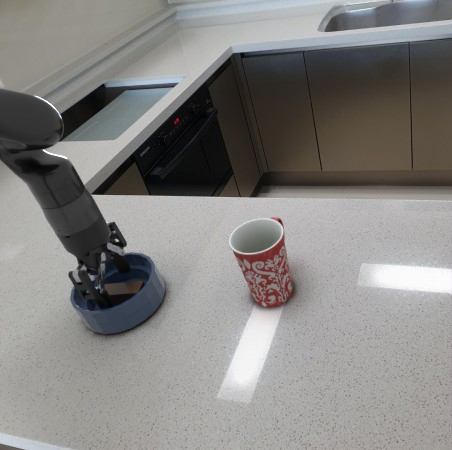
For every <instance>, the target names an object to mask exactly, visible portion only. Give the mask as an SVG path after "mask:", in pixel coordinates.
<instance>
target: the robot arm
mask: <svg viewBox="0 0 452 450" xmlns="http://www.w3.org/2000/svg"><path fill="white" fill-rule="evenodd" d="M64 127H65V126H64V120H63V118H62V116H61V114H60V112H59V111H58V110H57V109H56V107H54V106H53V105H52V104H51V103H49V102H48V101H47V100H45V99H44V98H41V97H39V96H36V95H33V94H30V93H26V92H21V91H16V90H12V89H7V88H3V87H0V162H1V163H2V164H3V165H4V166H6V167H7V169H9V170H10V171H11V172H12V173H13V174H14V175H15V176H16V177H18V179H20V180H21V181H22V182H23V183H24V184H25V185H26V186H27V187H28V189H29V191H30V193H31V194H32V196H33V197H34V199H35V201H36V202H37V204H38V205H39V207H40V209H41V211H42V213H43V216H44V218H45V220H46V221H47V223H48V224H49V226H50V228H51V229H52V231H53V232H54V233H55V235H56V237H57V239H58V240H59V241H60V243H61V244H62V247H63V248H64V250H65V251H66V252H67V253H69V254H71V256H72V255H73V257H75V258H76V261H77V267H76V268H75V269H74V270H70V271H68V274H67V275H68V278H69V280H70V281H71V283H72V285H73V287H75V288H76V290H77V292H78V293H79V295H80V297H81V298H82V300H89V299H95V300H96V302H97V303H98V305H99V306H100V307H101V308H109V307H113V305H114V302H113V300H112V298H111V297H110V295H109V294H108V292H107V290H105V286H104V279H105V278H106V267H107V264H108V262H109V261H110V260H111V258H112V257H113V258H112V261H113V263H114V264H115V266H116V268H117V270H118V271H119V273H121V274H123V273H129V272H130V270H131V268H130V266H129V263H128V262H127V259H126V258H125V256H124V255H125V253H126V251H125V250H124V248H127V246H128V241H127V240H126V238H125V236H124V235H123V234H122V231H121V230H120V228H119V227H118V225H117V223H116V222H115V221H106V219H105V217H104V215H103V213H102V212H101V210H100V208H99V206H98V203H97V202H96V200H95V199H94V197H93V196H92V194H91V193H90V192H89V190H88V189H87V187H86V186H85V184H84V182H83V180H82V179H81V176H80V175H79V172H78V171H77V169H76V167H75V166H74V164H73V162H72V161H71V160H70V159H69V158H67V157H66V156H63V155H59V154H54V153H51V152H48V151H46V150H47V149H50V148H52V147H54V146H55V145H57V144H58V143H59V142H60V140H61V139H62V137H63V135H64V131H65V130H64V129H65V128H64ZM90 271H92V272H97V271H99V275H95V276H92V275H91V274H90ZM94 280H96V281H97V283H98V287H95V286H94V282H93V281H94ZM86 290H88V291H87V292H86Z"/></svg>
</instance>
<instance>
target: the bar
mask: <svg viewBox="0 0 452 450" xmlns="http://www.w3.org/2000/svg"><path fill="white" fill-rule="evenodd" d="M104 286H105V290H107V292H108V294H109V295H110V297H111V298H112V300H113V302H114V305H113V307H115V306H118V305H120V304H122V303H124V302H125V301H127V300H129V299H131V298H132V297H133V296H134V295H136V294H137V293H138V292H139V291H140V290H142V288H143V287H144V286H145V283H144V281H136V282H124V283H112V284H104ZM94 300H95V299H94ZM95 302H96V300H95ZM96 303H97V302H96ZM97 305H98V303H97ZM98 306H99V305H98ZM99 308H100V309H103V308H101V307H100V306H99ZM109 308H112V307H109Z"/></svg>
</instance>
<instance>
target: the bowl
mask: <svg viewBox="0 0 452 450" xmlns="http://www.w3.org/2000/svg"><path fill="white" fill-rule="evenodd" d="M124 256H125V258H126V259H127V262H128V263H129V266H130V268H131V270H130V272H129V273H123V274H121V273H119V271H118V270H117V268H116V266H115V264H114V263H113V261H112V258H113V257H112V258H111V260H110V261H109V262H108V264H107V267H106V278H105V279H104V284H112V283H124V282H136V281H144V283H145V286H144V287H143V288H142V290H140V291H139V292H138V293H137V294H136V295H134V296H133V297H132V298H131V299H129V300H127V301H125V302H124V303H122V304H120V305H118V306H115V307H112V308H103V309H100V308H99V306H98V305H97V303H96V302H95V300H94V299H89V300H82V298H81V297H80V295H79V293H78V292H77V290H76V288H75V287H74V286H72V289H71V292H70V297H69V301H70V304H71V306H72V308H73V309H74V310H75V312H76V314H77V315H78V316H79V317H80V319H81V321H82V322H83V323H84V325H85V326H86V328H87V329H89V330H91V331H92V332H94V333H97V334H98V333H99V334H103V335H109V334H118V333H121V332H124V331H127V330H130V329H133V328H135V326H138V325H139V324H142V323H143V322H144V321H146V320H147V319H148V318H149V317H150V316H152V315H153V314H154V313H155V312H156V310H157V309H158V308H159V307H160V305H161V304H162V302H163V298H164V296H165V294H166V286H165V282H164V280H163V278H162V275H161V274H160V272H159V270H158V268H157V266H156V263H155V262H154V260H152V257H150V256H149V255H147V254H144V253H142V252H134V251H131V252H130V251H129V252H125V255H124ZM90 274H91V275H92V276H95V275H99V271H97V272H92V271H90ZM93 282H94V286H95V287H98V283H97V281H96V280H94V281H93ZM87 291H88V290H86V292H87Z"/></svg>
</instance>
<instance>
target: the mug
mask: <svg viewBox="0 0 452 450" xmlns="http://www.w3.org/2000/svg"><path fill="white" fill-rule="evenodd" d="M285 238H286V237H285V227H284V222H283V220H282V218H280V217H276V216H275V217H270V218H267V217H259V218H254V219H250V220H247V221H245V222H243V223H241V224H239V225H238V226H237V227H235V229H234V230H232V232H231V233H230V235H229V238H228V247H229V248H230V249H231V251H232V252H233V254H234V257H235V260H236V261H237V264H238V266H239V268H240V271H241V273H242V275H243V277H244V279H245V282H246V284H247V286H248V288H249V292H250V293H251V296H252V298H253V300H254V301H255V303H256V304H257V305H259V306H260V307H264V308H274V307H279V306H281V305H283V304H284V303H286V302H287V301H288V300H289V299H290V298H291V296H292V295H293V291H294V287H293V280H292V275H291V270H290V263H289V259H288V253H287V252H288V251H287V246H286V241H285Z"/></svg>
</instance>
